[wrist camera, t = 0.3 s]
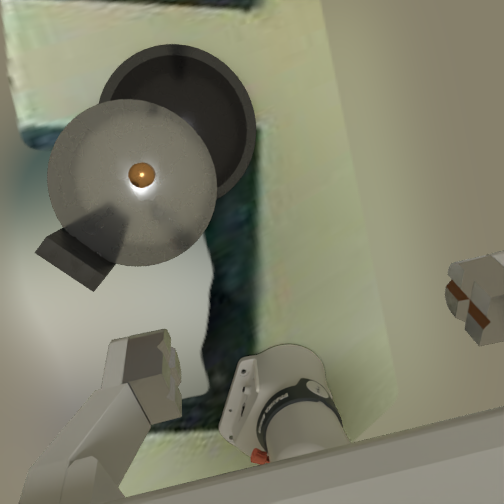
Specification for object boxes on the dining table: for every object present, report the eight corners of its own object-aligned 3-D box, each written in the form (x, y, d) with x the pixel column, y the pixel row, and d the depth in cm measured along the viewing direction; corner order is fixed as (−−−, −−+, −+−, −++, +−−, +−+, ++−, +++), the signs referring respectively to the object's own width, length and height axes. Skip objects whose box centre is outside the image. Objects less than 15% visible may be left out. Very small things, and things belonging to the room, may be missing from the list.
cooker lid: (145, 303, 56) (138, 321, 51) (8, 210, 52) (-17, 218, 46) (249, 174, 53) (253, 177, 48) (114, 62, 49) (101, 50, 43)
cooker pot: (195, 226, 64) (192, 238, 55) (85, 142, 59) (64, 141, 50) (276, 123, 61) (287, 119, 52) (168, 27, 57) (160, 6, 48)
